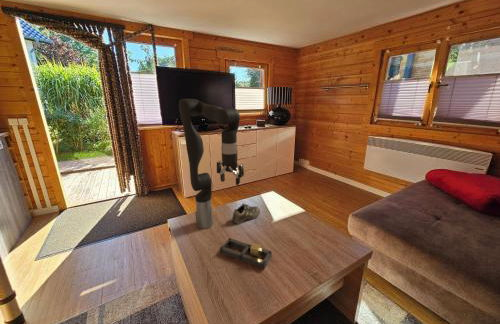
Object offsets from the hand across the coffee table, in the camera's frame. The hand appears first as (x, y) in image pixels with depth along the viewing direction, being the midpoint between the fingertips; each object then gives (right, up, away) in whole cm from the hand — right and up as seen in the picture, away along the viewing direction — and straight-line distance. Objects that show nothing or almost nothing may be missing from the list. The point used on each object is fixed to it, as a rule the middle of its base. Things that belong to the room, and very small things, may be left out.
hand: (230, 182), depth 106 cm
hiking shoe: (+8, -26, +33) cm, 43 cm away
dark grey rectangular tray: (+8, -36, -1) cm, 37 cm away
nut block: (+13, -37, -3) cm, 39 cm away
